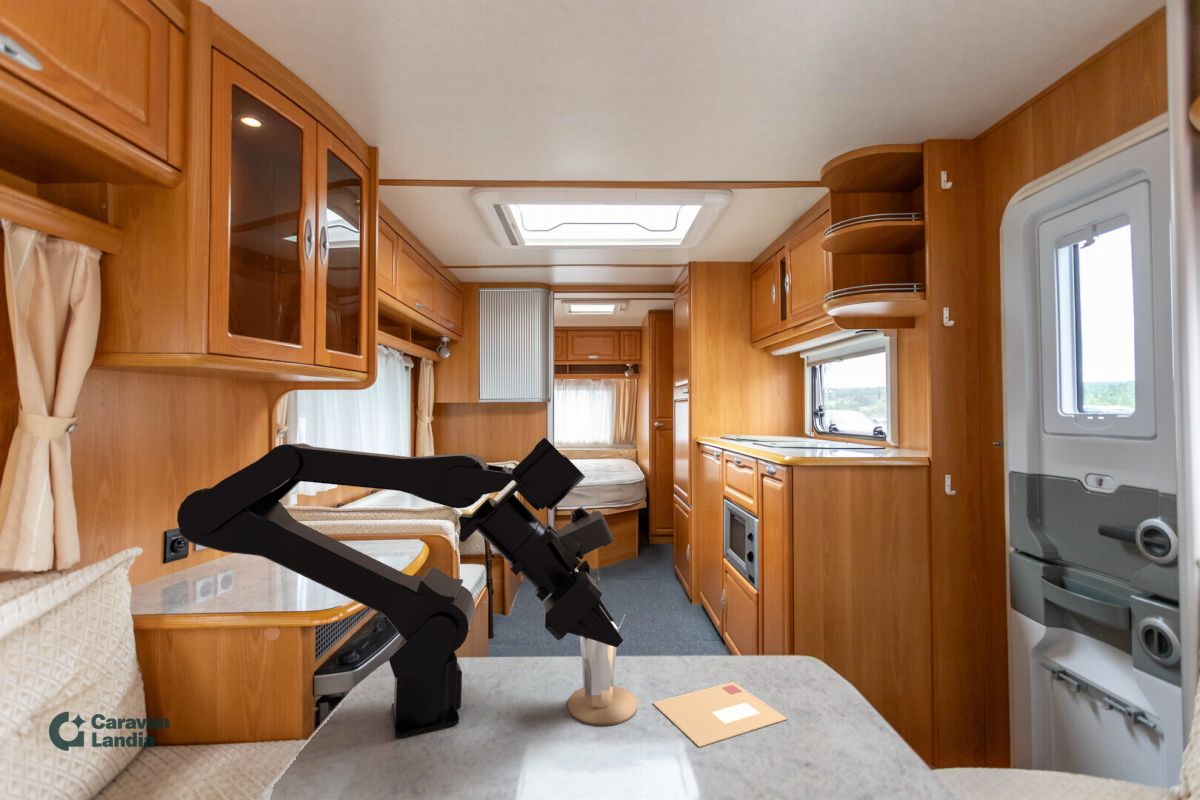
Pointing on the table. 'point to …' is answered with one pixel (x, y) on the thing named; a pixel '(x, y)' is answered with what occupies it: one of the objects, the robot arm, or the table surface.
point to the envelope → (718, 713)
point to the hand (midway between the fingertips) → (615, 633)
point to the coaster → (604, 708)
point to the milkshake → (598, 671)
